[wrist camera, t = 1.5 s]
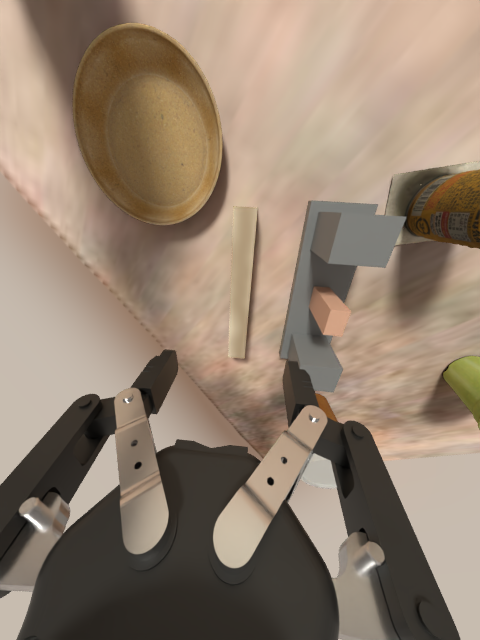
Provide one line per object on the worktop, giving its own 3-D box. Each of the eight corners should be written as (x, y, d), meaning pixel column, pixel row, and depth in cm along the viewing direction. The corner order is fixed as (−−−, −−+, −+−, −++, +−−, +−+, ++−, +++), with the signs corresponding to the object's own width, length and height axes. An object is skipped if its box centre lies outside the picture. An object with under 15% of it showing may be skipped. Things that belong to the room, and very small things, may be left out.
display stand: (279, 352, 34) (285, 392, 26) (308, 200, 23) (332, 197, 15) (321, 356, 33) (338, 398, 26) (371, 204, 22) (426, 202, 15)
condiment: (456, 237, 23) (615, 261, 13) (378, 246, 24) (466, 275, 14) (484, 160, 20) (734, 106, 9) (391, 175, 21) (523, 141, 11)
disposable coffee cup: (301, 380, 36) (318, 449, 26) (346, 396, 37) (380, 469, 27) (277, 410, 41) (284, 479, 30) (318, 424, 42) (338, 495, 31)
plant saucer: (71, 41, 18) (44, 18, 16) (228, 47, 18) (223, 23, 15) (112, 219, 26) (97, 220, 23) (224, 228, 25) (221, 229, 23)
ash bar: (231, 341, 34) (228, 357, 30) (237, 206, 24) (233, 206, 20) (245, 343, 34) (244, 358, 30) (257, 207, 24) (257, 207, 20)
